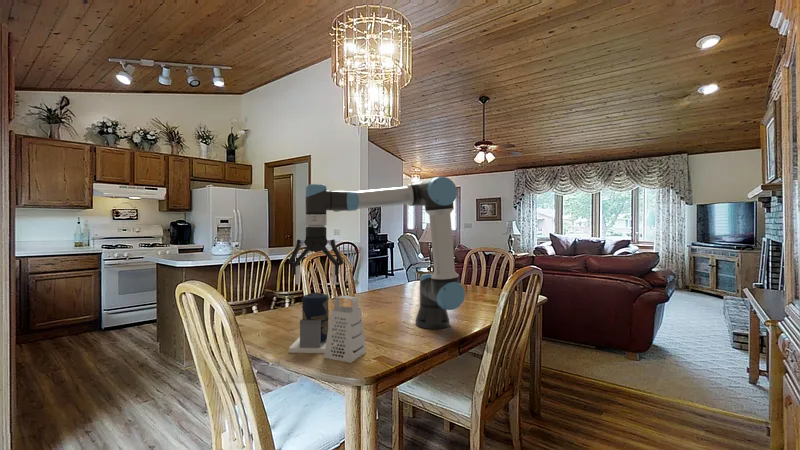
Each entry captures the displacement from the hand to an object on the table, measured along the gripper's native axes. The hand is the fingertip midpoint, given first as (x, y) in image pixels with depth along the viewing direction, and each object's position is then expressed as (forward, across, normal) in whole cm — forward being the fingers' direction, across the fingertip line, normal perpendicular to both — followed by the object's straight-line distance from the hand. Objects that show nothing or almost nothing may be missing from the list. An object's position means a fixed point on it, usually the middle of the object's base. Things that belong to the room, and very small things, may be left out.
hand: (316, 283), depth 140 cm
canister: (+21, 0, 0) cm, 21 cm away
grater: (+23, +12, -10) cm, 28 cm away
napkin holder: (+23, 0, 0) cm, 23 cm away
